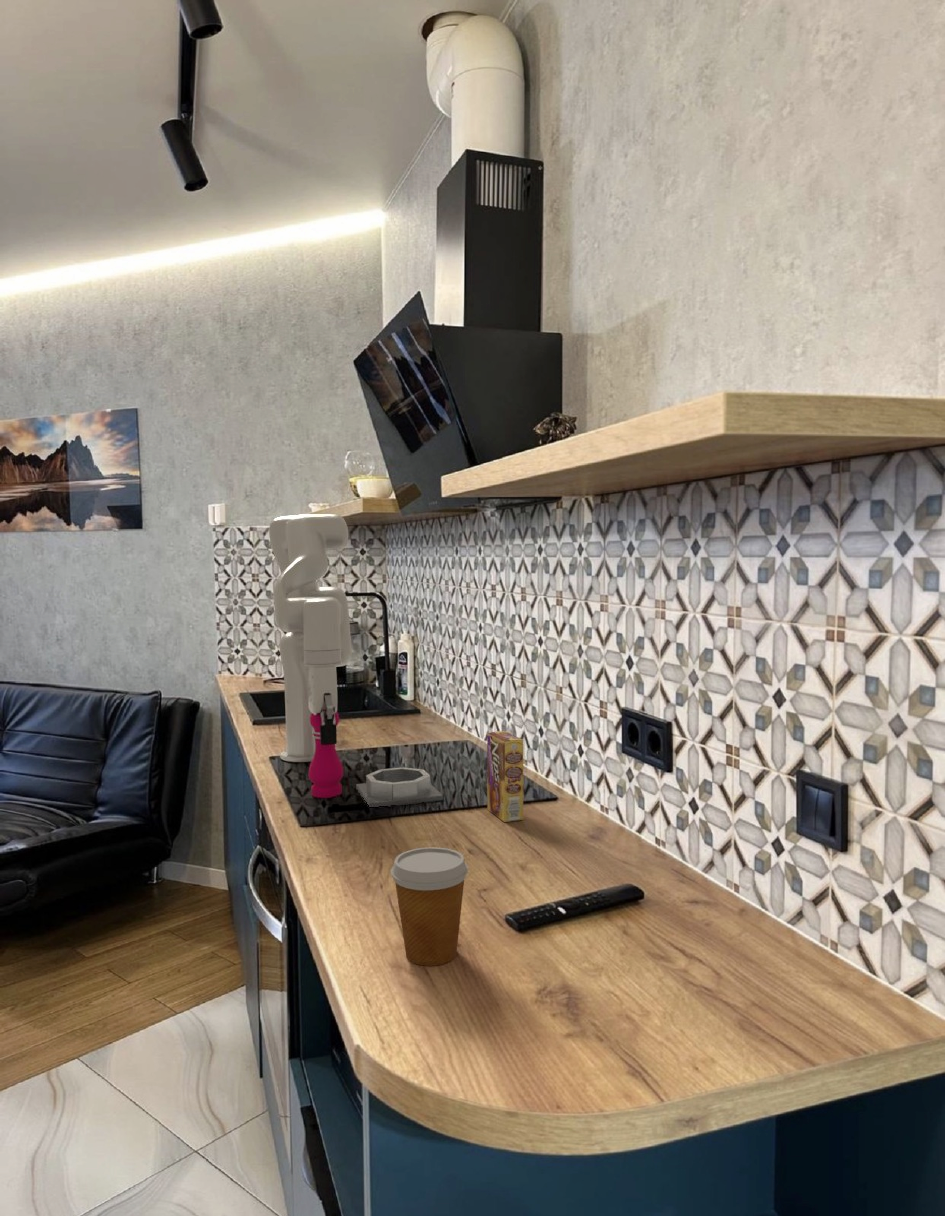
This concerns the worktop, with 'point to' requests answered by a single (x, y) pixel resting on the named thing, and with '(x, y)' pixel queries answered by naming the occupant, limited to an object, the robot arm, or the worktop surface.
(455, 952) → the disposable coffee cup
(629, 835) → the worktop surface
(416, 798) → the collar stand
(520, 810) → the candy box
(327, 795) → the pepper mill
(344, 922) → the worktop surface
